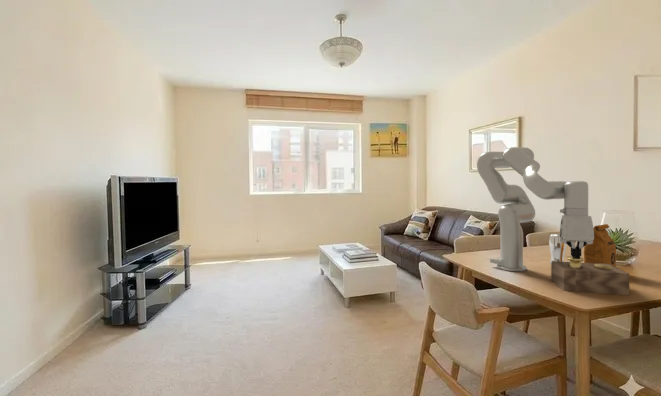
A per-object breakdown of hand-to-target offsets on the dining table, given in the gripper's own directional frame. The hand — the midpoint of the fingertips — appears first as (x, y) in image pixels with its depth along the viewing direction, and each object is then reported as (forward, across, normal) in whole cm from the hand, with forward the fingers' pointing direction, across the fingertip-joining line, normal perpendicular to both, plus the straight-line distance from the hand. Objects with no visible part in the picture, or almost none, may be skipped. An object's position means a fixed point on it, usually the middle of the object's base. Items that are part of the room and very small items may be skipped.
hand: (576, 257), depth 123 cm
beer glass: (+11, +5, +35) cm, 37 cm away
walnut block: (+12, +4, 0) cm, 12 cm away
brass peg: (+8, 0, 0) cm, 8 cm away
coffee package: (+12, +18, +24) cm, 32 cm away
